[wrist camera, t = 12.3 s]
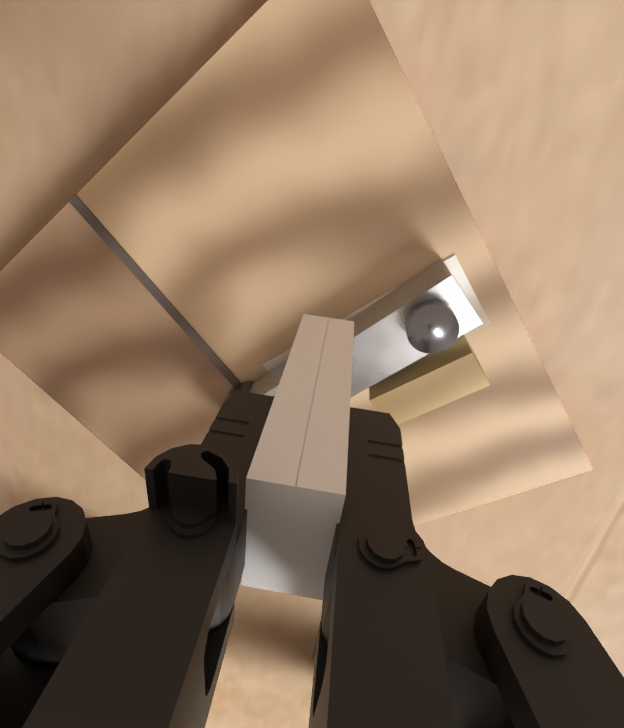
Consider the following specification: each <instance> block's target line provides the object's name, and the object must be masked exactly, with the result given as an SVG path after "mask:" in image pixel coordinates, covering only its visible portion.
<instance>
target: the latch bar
mask: <svg viewBox="0 0 624 728" xmlns="http://www.w3.org/2000/svg"><path fill="white" fill-rule="evenodd" d="M348 321H354V338H353V358H352V378H351V397H353V396H355V395H356V394H358V393H360V392H362V391H363V390H365V389H367V388H369V387H371V386H372V385H374V384H376V383H378V382H379V381H381V380H383V379H385V378H387V377H388V376H390V375H392V374H394V373H395V372H397V371H399V370H401V369H403V368H404V367H406V366H408V365H410V364H411V363H413V362H415V361H417V360H419V359H420V358H422V357H424V356H426V355H427V354H432V353H438V352H442V351H444V350H446V349H448V348H449V347H450V346H451V345H452V344H453V343H454V342H455V341H456V339H457V338H458V337H459V336H461V335H463V334H465V333H467V332H468V331H470V330H472V329H474V328H475V327H477V326H479V325H481V324H483V323H482V322H481V320H480V318H479V316H478V315H477V313H476V311H475V310H474V308H473V306H472V305H471V303H470V301H469V300H468V298H467V297H466V295H465V294H464V292H463V291H462V289H461V287H460V286H459V284H458V283H457V281H456V280H455V278H454V277H453V275H452V273H451V272H450V270H449V269H448V267H447V266H446V264H445V263H444V261H443V259H442V258H441V259H440V260H438V261H437V262H435V263H434V264H432V265H431V266H429V267H428V268H426V269H425V270H423V271H421V272H420V273H418V274H417V275H415V276H414V277H412V278H411V279H409V280H408V281H406V282H405V283H403V284H402V285H400V286H399V287H397V288H396V289H394V290H393V291H391V292H390V293H388V294H387V295H385V296H384V297H382V298H381V299H379V300H378V301H376V302H375V303H373V304H372V305H370V306H369V307H367V308H366V309H364V310H362V311H361V312H359V313H358V314H356V315H355V316H353V317H352V318H350V319H349V320H348ZM286 363H287V361H285V362H284V363H282V364H281V365H279V366H278V367H276V368H275V369H273V370H272V371H270V372H269V373H267V374H266V375H264V376H263V377H261V378H260V379H258V380H257V381H255V382H254V381H247V382H242V383H239V384H237V385H235V386H234V387H233V388H232V389H231V390H230V391H229V393H228V395H227V397H226V399H225V401H226V400H227V399H229V398H230V397H231V396H233V395H234V394H236V393H237V392H238V391H243V392H249V393H256V394H262V395H268V396H274V397H275V394H276V391H277V388H278V386H279V383H280V380H281V377H282V374H283V371H284V369H285V366H286ZM225 401H224V402H225ZM215 419H216V418H215Z"/></svg>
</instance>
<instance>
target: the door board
mask: <svg viewBox="0 0 624 728" xmlns="http://www.w3.org/2000/svg"><path fill="white" fill-rule="evenodd" d="M441 258H442V259H443V261H444V263H445V264H446V266H447V267H448V269H449V270H450V272H451V273H452V275H453V277H454V278H455V280H456V281H457V283H458V284H459V286H460V287H461V289H462V291H463V292H464V294H465V295H466V297H467V298H468V300H469V301H470V303H471V305H472V306H473V308H474V310H475V311H476V313H477V315H478V316H479V318H480V320H481V322H482V323H483V324H481V325H479V326H477V327H475V328H474V329H472V330H470V331H468V332H467V333H465V334H463V335H461V336H459V337H458V338H457V339H456V341H455V342H454V343H453V344H452V345H451V346H450V347H449V348H448V349H446V350H444V351H442V352H438V353H432V354H427V355H426V356H424V357H422V358H420V359H419V360H417V361H415V362H413V363H411V364H410V365H408V366H406V367H404V368H403V369H401V370H399V371H397V372H395V373H394V374H392V375H390V376H388V377H387V378H385V379H383V380H381V381H379V382H378V383H376V384H374V385H372V386H371V387H369V388H367V389H365V390H363V391H362V392H360V393H358V394H356V395H355V396H353V397H351V398H350V407H353V408H359V409H366V410H372V411H378V412H385V413H390V415H391V416H392V418H393V419H394V420H395V422H396V423H397V425H398V426H399V428H400V430H401V437H402V445H403V446H402V449H403V452H404V463H405V468H406V475H407V483H408V491H409V498H410V506H411V513H412V520H413V524H414V526H416V525H419V524H422V523H425V522H429V521H432V520H435V519H438V518H441V517H445V516H448V515H451V514H454V513H457V512H460V511H464V510H467V509H470V508H473V507H476V506H479V505H483V504H486V503H489V502H492V501H495V500H498V499H502V498H505V497H508V496H511V495H514V494H517V493H521V492H524V491H527V490H530V489H533V488H536V487H540V486H543V485H546V484H549V483H552V482H555V481H559V480H562V479H565V478H568V477H571V476H574V475H578V474H581V473H584V472H587V471H590V470H593V468H592V466H591V464H590V462H589V459H588V457H587V455H586V453H585V451H584V449H583V447H582V445H581V443H580V441H579V439H578V436H577V434H576V432H575V430H574V428H573V426H572V424H571V422H570V420H569V418H568V416H567V413H566V411H565V409H564V407H563V405H562V403H561V401H560V399H559V397H558V395H557V392H556V390H555V388H554V386H553V384H552V382H551V380H550V378H549V376H548V374H547V372H546V369H545V367H544V365H543V363H542V361H541V359H540V357H539V355H538V353H537V351H536V349H535V346H534V344H533V342H532V340H531V338H530V336H529V334H528V332H527V330H526V328H525V326H524V323H523V321H522V319H521V317H520V315H519V313H518V311H517V309H516V307H515V305H514V303H513V300H512V298H511V296H510V294H509V292H508V290H507V288H506V286H505V284H504V282H503V280H502V277H501V275H500V273H499V271H498V269H497V267H496V265H495V263H494V261H493V259H492V257H491V254H490V252H489V250H488V248H487V246H486V244H485V242H484V240H483V238H482V236H481V234H480V231H479V229H478V227H477V225H476V223H475V221H474V219H473V217H472V215H471V213H470V210H469V208H468V206H467V204H466V202H465V200H464V198H463V196H462V194H461V192H460V190H459V187H458V185H457V183H456V181H455V179H454V177H453V175H452V173H451V171H450V169H449V167H448V164H447V162H446V160H445V158H444V156H443V154H442V152H441V150H440V148H439V146H438V144H437V141H436V139H435V137H434V135H433V133H432V131H431V129H430V127H429V125H428V123H427V121H426V118H425V116H424V114H423V112H422V110H421V108H420V106H419V104H418V102H417V100H416V98H415V95H414V93H413V91H412V89H411V87H410V85H409V83H408V81H407V79H406V77H405V75H404V72H403V70H402V68H401V66H400V64H399V62H398V60H397V58H396V56H395V54H394V52H393V49H392V47H391V45H390V43H389V41H388V39H387V37H386V35H385V33H384V31H383V28H382V26H381V24H380V22H379V20H378V18H377V16H376V14H375V12H374V10H373V8H372V5H371V3H370V1H369V0H268V1H267V2H266V3H265V4H264V5H263V6H262V7H261V8H260V9H259V10H258V11H257V12H256V13H255V14H254V15H253V16H252V17H251V18H250V19H249V20H248V21H247V22H246V23H245V24H244V25H243V26H242V27H241V28H240V29H239V30H238V31H237V32H236V33H235V34H234V35H233V36H232V37H231V38H230V39H229V40H228V41H227V42H226V43H225V44H224V45H223V46H222V47H221V48H220V49H219V50H218V51H217V52H216V53H215V54H214V55H213V56H212V57H211V58H210V59H209V60H208V61H207V62H206V63H205V64H204V65H203V66H202V67H201V68H200V69H199V71H198V72H197V73H196V74H195V75H194V76H193V77H192V78H191V79H190V80H189V81H188V82H187V83H186V84H185V85H184V86H183V87H182V88H181V89H180V90H179V91H178V92H177V93H176V94H175V95H174V96H173V97H172V98H171V99H170V100H169V101H168V102H167V103H166V104H165V105H164V106H163V107H162V108H161V109H160V110H159V111H158V112H157V113H156V114H155V115H154V116H153V117H152V118H151V119H150V120H149V121H148V122H147V123H146V124H145V125H144V126H143V127H142V128H141V129H140V130H139V131H138V132H137V133H136V134H135V135H134V136H133V137H132V138H131V139H130V140H129V141H128V142H127V143H126V144H125V145H124V146H123V147H122V148H121V149H120V151H119V152H118V153H117V154H116V155H115V156H114V157H113V158H112V159H111V160H110V161H109V162H108V163H107V164H106V165H105V166H104V167H103V168H102V169H101V170H100V171H99V172H98V173H97V174H96V175H95V176H94V177H93V178H92V179H91V180H90V181H89V182H88V183H87V184H86V185H85V186H84V187H83V188H82V189H81V190H80V191H79V192H78V193H77V194H76V195H74V196H73V197H72V198H71V199H70V200H69V202H68V203H67V204H66V205H65V206H64V207H63V208H62V209H61V210H60V211H59V212H58V213H57V214H56V215H55V216H54V217H53V218H52V219H51V220H50V221H49V222H48V223H47V224H46V225H45V226H44V227H43V228H42V229H41V231H40V232H39V233H38V234H37V235H36V236H35V237H34V238H33V239H32V240H31V241H30V242H29V243H28V244H27V245H26V246H25V247H24V248H23V249H22V250H21V251H20V252H19V253H18V254H17V255H16V256H15V257H14V258H13V259H12V260H11V261H10V262H9V263H8V264H7V265H6V266H5V267H4V268H3V269H2V270H1V271H0V352H1V353H2V354H3V355H4V356H5V357H6V358H7V359H8V360H10V361H11V362H12V363H13V364H14V365H15V366H16V367H18V368H19V369H20V370H21V371H22V372H23V373H24V374H26V375H27V376H28V377H29V378H30V379H31V380H32V381H34V382H35V383H36V384H37V385H38V386H39V387H40V388H42V389H43V390H44V391H45V392H46V393H47V394H48V395H49V396H51V397H52V398H53V399H54V400H55V401H56V402H57V403H59V404H60V405H61V406H62V407H63V408H64V409H65V410H67V411H68V412H69V413H70V414H71V415H72V416H73V417H75V418H76V419H77V420H78V421H79V422H80V423H81V424H82V425H84V426H85V427H86V428H87V429H88V430H89V431H90V432H92V433H93V434H94V435H95V436H96V437H97V438H98V439H100V440H101V441H102V442H103V443H104V444H105V445H106V446H108V447H109V448H110V449H111V450H112V451H113V452H114V453H116V454H117V455H118V456H119V457H120V458H121V459H122V460H123V461H125V462H126V463H127V464H128V465H129V466H130V467H131V468H133V469H134V470H135V471H136V472H137V473H138V474H139V475H141V476H142V477H143V478H144V479H145V472H144V468H145V467H146V466H147V465H148V464H149V463H150V462H151V461H152V460H153V459H154V458H155V457H156V456H158V455H160V454H161V453H163V452H165V451H167V450H169V449H171V448H175V447H179V446H183V445H188V444H201V443H202V441H203V440H204V438H205V436H206V434H207V433H208V432H209V428H210V427H211V425H212V423H213V421H214V420H215V418H216V415H217V414H218V412H219V410H220V408H221V406H222V404H223V403H224V401H225V399H226V397H227V395H228V393H229V391H230V390H231V389H232V388H233V387H234V386H235V385H237V384H239V383H242V382H247V381H254V382H255V381H257V380H258V379H260V378H261V377H263V376H264V375H266V374H267V373H269V372H270V371H272V370H273V369H275V368H276V367H278V366H279V365H281V364H282V363H284V362H285V361H287V360H288V357H289V354H290V351H291V349H292V346H293V343H294V340H295V337H296V334H297V331H298V329H299V326H300V323H301V320H302V317H303V314H308V315H314V316H321V317H328V318H334V319H341V320H349V319H350V318H352V317H353V316H355V315H356V314H358V313H359V312H361V311H362V310H364V309H366V308H367V307H369V306H370V305H372V304H373V303H375V302H376V301H378V300H379V299H381V298H382V297H384V296H385V295H387V294H388V293H390V292H391V291H393V290H394V289H396V288H397V287H399V286H400V285H402V284H403V283H405V282H406V281H408V280H409V279H411V278H412V277H414V276H415V275H417V274H418V273H420V272H421V271H423V270H425V269H426V268H428V267H429V266H431V265H432V264H434V263H435V262H437V261H438V260H440V259H441ZM145 480H146V479H145Z"/></svg>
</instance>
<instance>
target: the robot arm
mask: <svg viewBox="0 0 624 728" xmlns="http://www.w3.org/2000/svg"><path fill="white" fill-rule="evenodd" d="M353 338H354V321H348V320H341V319H334V318H328V317H321V316H314V315H308V314H303V317H302V320H301V323H300V326H299V329H298V331H297V334H296V337H295V340H294V343H293V346H292V349H291V351H290V354H289V357H288V360H287V363H286V366H285V369H284V371H283V374H282V377H281V380H280V383H279V386H278V388H277V391H276V394H275V397H274V396H268V395H262V394H256V393H249V392H243V391H238V392H237V393H236V394H234V395H233V396H231V397H230V398H229V399H227V400H226V401H225V402H224V403H223V404H222V406H221V408H220V410H219V412H218V414H217V415H216V419H215V420H214V421H213V423H212V425H211V427H210V428H209V432H208V433H207V434H206V436H205V438H204V440H203V441H202V443H201V444H188V445H183V446H179V447H175V448H171V449H169V450H167V451H165V452H163V453H161V454H160V455H158V456H156V457H155V458H154V459H153V460H152V461H151V462H150V463H149V464H148V465H147V466H146V467H145V468H144V472H145V479H146V487H147V494H148V502H149V508H147V509H144V510H142V511H138V512H133V513H128V514H122V515H112V516H103V517H94V518H85V515H84V511H83V509H82V508H81V507H80V506H79V505H77V504H76V503H75V502H74V501H72V500H68V499H63V498H58V497H51V498H41V499H35V500H32V501H29V502H26V503H23V504H20V505H17V506H15V507H13V508H11V509H10V510H8V511H6V512H5V513H3V514H1V515H0V728H205V724H206V721H207V717H208V713H209V709H210V706H211V702H212V698H213V695H214V691H215V687H216V683H217V680H218V676H219V672H220V669H221V665H222V661H223V657H224V654H225V650H226V646H227V643H228V639H229V635H230V631H231V628H232V624H233V620H234V608H235V598H236V595H237V591H238V588H239V584H240V580H241V577H242V586H247V587H253V588H258V589H264V590H269V591H275V592H281V593H286V594H292V595H297V596H303V597H308V598H314V599H319V600H323V605H322V616H321V622H320V626H319V631H318V635H317V640H316V644H315V648H314V653H313V657H312V658H313V659H315V666H314V676H313V687H312V697H311V708H310V718H309V728H624V677H623V676H622V674H621V673H620V671H619V670H618V668H617V667H616V665H615V664H614V662H613V661H612V659H611V658H610V657H609V655H608V654H607V652H606V651H605V649H604V648H603V646H602V645H601V643H600V642H599V640H598V639H597V637H596V636H595V634H594V633H593V631H592V630H591V628H590V627H589V625H588V624H587V622H586V621H585V620H584V619H583V617H582V616H581V615H580V614H579V613H578V611H577V610H576V609H575V608H574V607H573V606H572V604H571V603H570V602H569V601H568V600H566V599H565V598H564V597H563V596H561V595H560V594H559V593H557V592H556V591H555V590H553V589H552V588H551V587H549V586H547V585H545V584H543V583H541V582H539V581H536V580H534V579H532V578H530V577H523V576H516V575H510V576H507V577H503V578H500V579H497V580H496V582H495V583H494V584H493V585H492V587H490V586H488V585H486V584H484V583H482V582H479V581H477V580H475V579H473V578H471V577H469V576H467V575H465V574H463V573H461V572H459V571H456V570H454V569H453V568H451V567H449V566H448V565H446V564H444V563H443V562H441V561H440V560H439V559H438V558H436V557H435V556H434V555H433V554H432V553H430V551H429V550H428V549H427V548H426V547H425V544H424V541H423V540H422V539H421V537H420V536H419V535H418V534H417V532H416V531H415V528H414V524H413V520H412V513H411V506H410V498H409V491H408V483H407V475H406V468H405V463H404V452H403V449H402V446H403V445H402V437H401V430H400V428H399V426H398V425H397V423H396V422H395V420H394V419H393V418H392V416H391V415H390V413H385V412H378V411H372V410H366V409H359V408H353V407H350V398H351V378H352V358H353Z"/></svg>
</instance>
